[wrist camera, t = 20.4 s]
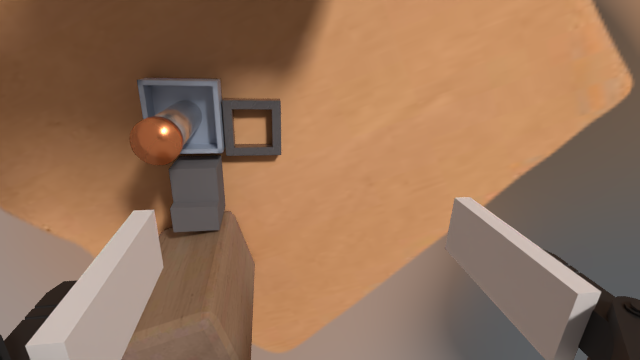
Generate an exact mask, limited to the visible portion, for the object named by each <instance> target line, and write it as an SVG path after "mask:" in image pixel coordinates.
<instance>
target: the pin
mask: <svg viewBox="0 0 640 360" xmlns="http://www.w3.org/2000/svg"><path fill="white" fill-rule="evenodd" d="M201 122H202V112H201V110H200V108H199V107H198V106H197V105H196V104H195V103H193V102H191V101H188V100H181V101H178V102H176V103H174V104H173V105H171V106H169V107H168V108H166V109H165V110H163V111H161V112H160V113H158V114H156V115H155V116H152V117H148V118H145V119H143V120H142V121H140V122H139V123H137V124H136V125H135V126H134V127H133V129H132V131H131V133H130V145H131V148H132V150H133V152H134V153H135V154H136V155H137V156H138V157H139V158H140V159H141V160H143V161H144V162H146V163H149V164H152V165H165V164H168V163H170V162H172V161H173V160H175V159H176V158H177V156H178V155H179V154H180V152H181V151H182V149H183V145H184V144H185V143H186V142H187V140H188V139H189V138H190V137H191V135H192V134H193V133H194V132H195V131H196V129H197V128H198V127H199V126H200V124H201Z"/></svg>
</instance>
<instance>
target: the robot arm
mask: <svg viewBox="0 0 640 360" xmlns="http://www.w3.org/2000/svg"><path fill="white" fill-rule="evenodd" d="M445 249H446V250H447V251H448V253H449V254H450V255H451V256H452V257H453V258H454V259H455V260H456V261H457V262H458V264H459V265H460V266H461V267H462V268H463V269H464V270H465V271H466V272H467V273H468V275H469V276H470V277H471V278H472V279H473V280H474V281H475V282H476V283H477V284H478V286H479V287H480V288H481V289H482V290H483V291H484V292H485V293H486V294H487V296H488V297H489V298H490V299H491V300H492V301H493V302H494V303H495V304H496V305H497V306H498V308H499V309H500V310H501V311H502V312H503V313H504V314H505V315H506V316H507V318H508V319H509V320H510V321H511V322H512V323H513V324H514V325H515V326H516V328H517V329H518V330H519V331H520V332H521V333H522V334H523V335H524V336H525V337H526V339H527V340H528V341H529V342H530V343H531V344H532V345H533V346H534V347H535V348H536V350H537V351H538V352H539V353H540V354H541V355H542V356H543V357H544V358H545V360H574V358H575V355H576V353H577V350H578V348H580V349H581V350H582V351H583V352H584V353H585V354H586V355H587V356H588V358H587V360H640V300H638V299H635V298H630V297H626V296H618V297H614V296H613V295H611V294H610V293H609V292H607V291H606V290H605V289H603V288H602V287H600V286H599V285H597V284H596V283H595V282H593V281H592V280H590V279H589V278H587V277H586V276H585V275H583V274H582V273H579V272H578V270H576V269H575V268H573V267H572V266H569V265H568V263H566V262H565V261H564V260H562V259H561V258H559V257H558V256H556V255H555V254H552V253H550V252H548V251H546V250H544V249H541V248H540V247H538V246H537V245H536V244H534V243H533V242H531V241H530V240H529V239H527V238H526V237H524V236H523V235H522V234H520V233H519V232H518V231H516V230H515V229H513V228H512V227H511V226H509V225H508V224H506V223H505V222H504V221H502V220H501V219H499V218H498V217H497V216H495V215H494V214H493V213H491V212H490V211H488V210H487V209H486V208H484V207H483V206H481V205H480V204H479V203H477V202H476V201H475V200H473V199H472V198H470V197H461V198H455V199H454V204H453V210H452V215H451V220H450V225H449V230H448V236H447V241H446V246H445ZM163 267H164V266H163V260H162V254H161V248H160V242H159V236H158V230H157V224H156V218H155V212H154V210H134V211H133V212H132V213H131V215H130V216H129V217H128V218H127V220H126V221H125V222H124V223H123V225H122V226H121V227H120V228H119V230H118V231H117V232H116V233H115V235H114V236H113V237H112V238H111V240H110V241H109V242H108V243H107V245H106V246H105V247H104V248H103V249H102V251H101V252H100V253H99V254H98V256H97V257H96V258H95V259H94V261H93V262H92V263H91V265H90V266H89V267H88V268H87V270H86V271H85V272H84V273H83V274H82V276H81V277H80V278H79V280H78V281H64V282H62V283H61V284H59V285H58V286H56V287H55V288H53V289H52V290H50V291H49V292H47V293H46V294H45V296H44V297H43V298H42V299H41V300H40V301H39V302H38V303H37V304H36V305H35V308H34V309H32V310H31V311H30V312H29V313H28V315H27V316H26V317H25V320H22V321H21V323H20V324H19V325H18V326H17V327H16V328H15V329H14V330H13V331H12V333H11V334H10V335H9V336H8V337H7V338H6V339H5V340H4V341H3V338H2V336H1V335H0V360H121V359H122V357H123V355H124V352H125V350H126V348H127V346H128V344H129V341H130V339H131V337H132V335H133V333H134V330H135V328H136V326H137V324H138V322H139V320H140V317H141V315H142V313H143V311H144V309H145V306H146V304H147V302H148V300H149V298H150V296H151V293H152V291H153V289H154V287H155V285H156V282H157V280H158V278H159V276H160V274H161V272H162V269H163Z"/></svg>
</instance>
